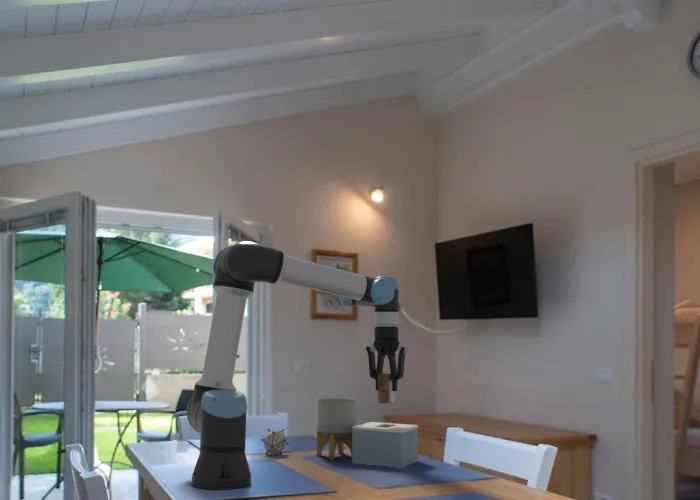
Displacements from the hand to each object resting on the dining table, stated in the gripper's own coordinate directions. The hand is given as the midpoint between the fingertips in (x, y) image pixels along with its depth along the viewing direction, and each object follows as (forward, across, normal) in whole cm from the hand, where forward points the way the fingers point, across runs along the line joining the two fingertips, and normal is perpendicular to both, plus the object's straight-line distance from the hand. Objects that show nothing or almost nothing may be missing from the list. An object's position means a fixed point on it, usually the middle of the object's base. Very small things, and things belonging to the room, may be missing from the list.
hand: (386, 401), depth 219 cm
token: (0, 0, 0) cm, 0 cm away
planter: (+19, +18, -2) cm, 26 cm away
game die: (+18, +37, +5) cm, 42 cm away
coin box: (+18, 0, 0) cm, 18 cm away
